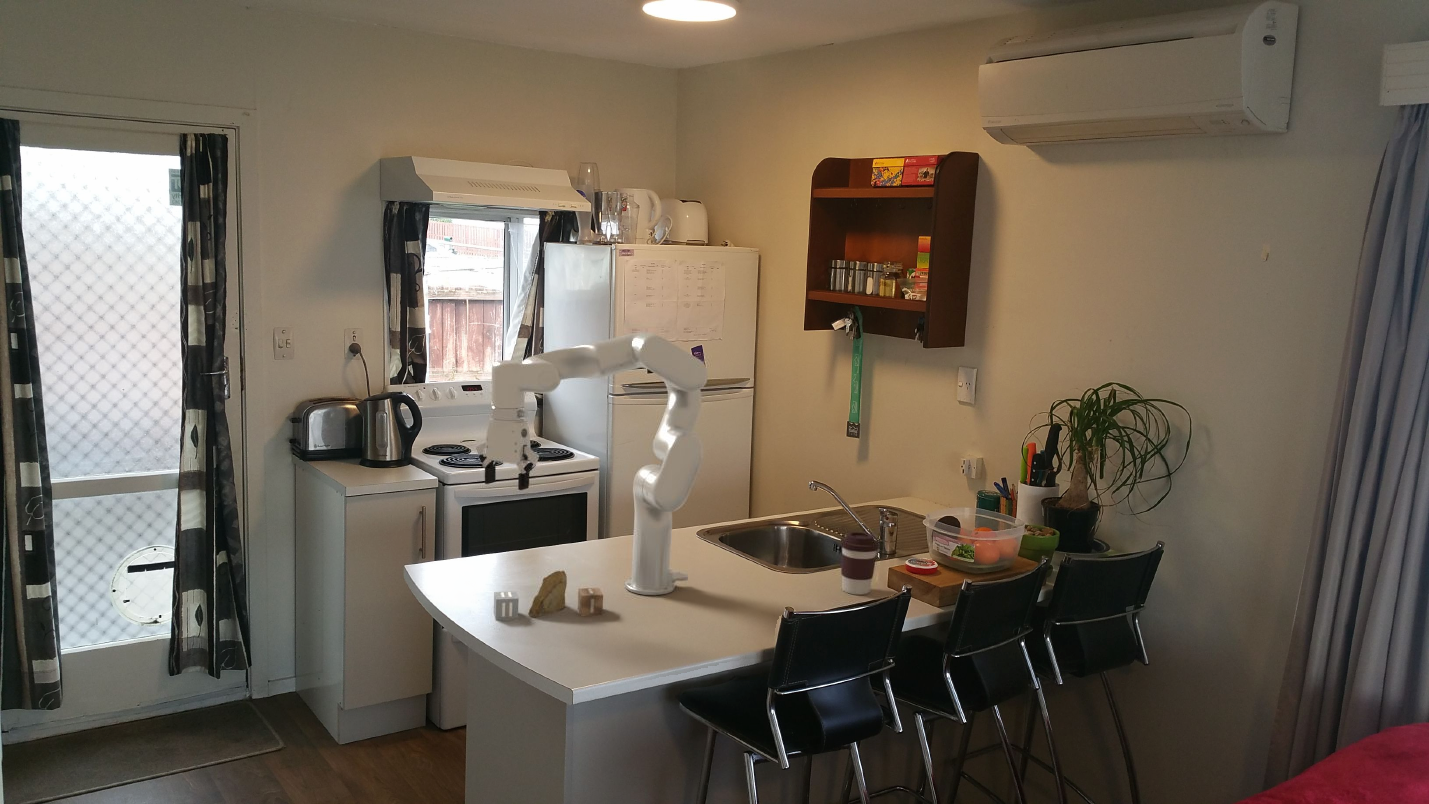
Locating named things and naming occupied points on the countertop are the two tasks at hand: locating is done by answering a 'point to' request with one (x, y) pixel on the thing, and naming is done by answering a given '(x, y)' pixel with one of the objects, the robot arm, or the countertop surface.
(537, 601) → the rock
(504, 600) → the grey block
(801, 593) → the countertop surface
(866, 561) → the coffee cup
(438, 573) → the countertop surface
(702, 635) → the countertop surface
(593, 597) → the walnut block
